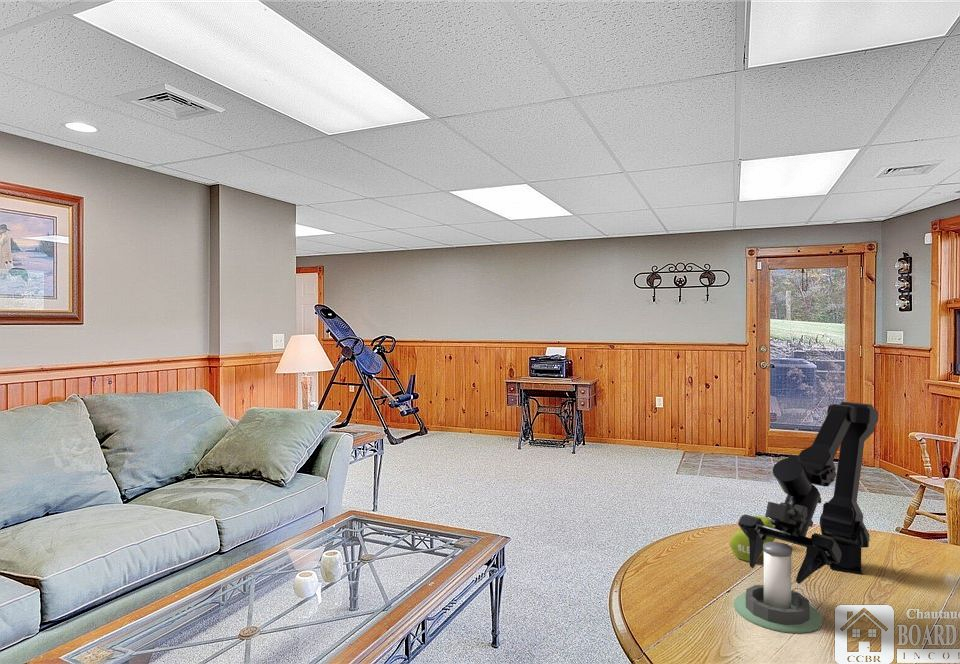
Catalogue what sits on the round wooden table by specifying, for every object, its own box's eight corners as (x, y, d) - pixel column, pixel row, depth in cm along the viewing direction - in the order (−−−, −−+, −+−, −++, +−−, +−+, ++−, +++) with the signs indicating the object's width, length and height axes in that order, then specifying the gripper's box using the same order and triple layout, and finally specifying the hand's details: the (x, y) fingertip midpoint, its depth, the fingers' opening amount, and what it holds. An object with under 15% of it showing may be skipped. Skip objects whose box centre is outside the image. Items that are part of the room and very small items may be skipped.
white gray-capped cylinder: (784, 603, 121) (784, 541, 121) (796, 616, 116) (796, 551, 116) (758, 603, 122) (758, 541, 121) (769, 616, 117) (769, 551, 116)
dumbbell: (761, 567, 141) (761, 537, 140) (727, 558, 146) (727, 529, 146) (779, 546, 153) (779, 518, 153) (747, 538, 158) (747, 512, 158)
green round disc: (819, 602, 123) (819, 589, 122) (825, 641, 108) (825, 625, 108) (736, 587, 130) (736, 574, 130) (731, 621, 115) (731, 607, 115)
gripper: (742, 477, 128) (715, 539, 122) (836, 497, 113) (810, 569, 107) (760, 505, 133) (734, 566, 127) (851, 528, 119) (828, 599, 112)
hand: (773, 574), depth 118 cm, fingers open, 9 cm apart
